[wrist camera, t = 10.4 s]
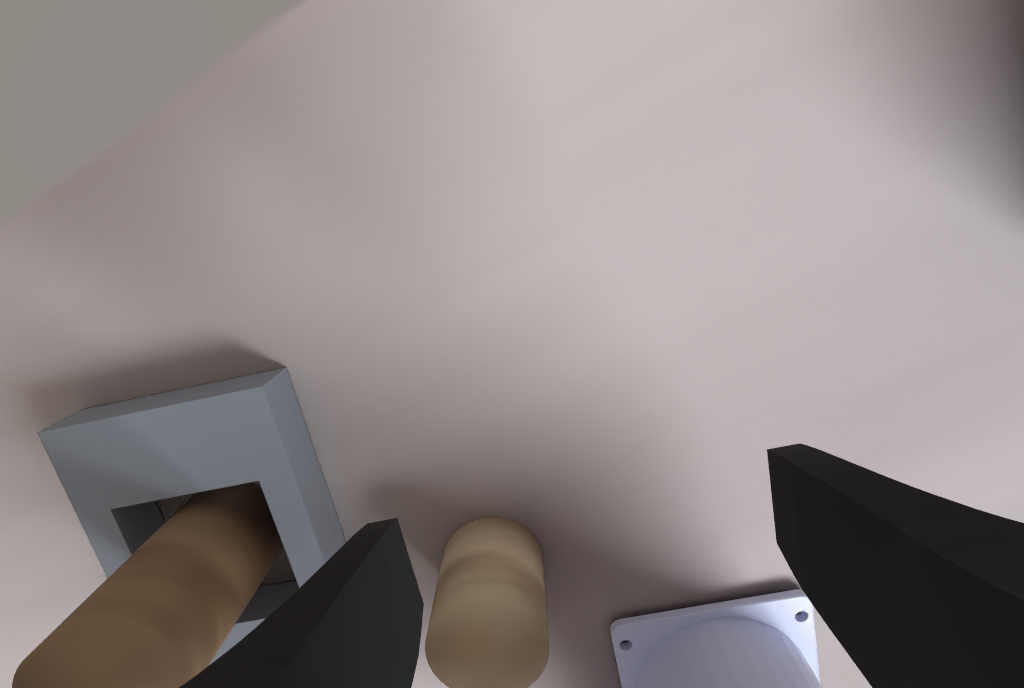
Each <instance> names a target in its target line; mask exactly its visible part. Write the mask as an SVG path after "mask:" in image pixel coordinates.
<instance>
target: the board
mask: <svg viewBox="0 0 1024 688" xmlns="http://www.w3.org/2000/svg"><path fill="white" fill-rule="evenodd" d="M38 435H39V437H40V439H41V441H42V443H43V445H44V448H45V450H46V452H47V454H48V456H49V458H50V460H51V462H52V464H53V466H54V468H55V470H56V472H57V474H58V477H59V479H60V481H61V483H62V485H63V487H64V489H65V491H66V493H67V495H68V497H69V499H70V501H71V503H72V505H73V508H74V510H75V512H76V514H77V516H78V518H79V520H80V522H81V524H82V526H83V528H84V530H85V532H86V534H87V537H88V539H89V541H90V543H91V545H92V547H93V549H94V551H95V553H96V555H97V557H98V559H99V561H100V563H101V566H102V568H103V570H104V572H105V574H106V576H107V578H109V577H110V576H111V575H112V574H113V573H114V572H115V571H116V570H117V569H118V568H119V567H120V566H121V565H122V564H123V563H124V562H125V561H126V560H127V559H128V558H129V557H130V556H131V555H132V554H133V553H135V552H136V551H137V550H138V549H139V548H140V547H141V546H142V545H143V544H144V543H145V542H146V541H147V540H148V539H149V538H150V537H151V536H152V535H153V534H154V533H155V532H156V531H157V530H158V529H159V528H160V527H161V526H162V525H163V524H164V523H165V522H164V520H163V518H162V515H161V513H160V511H159V508H158V506H157V504H156V502H155V501H156V500H161V499H167V498H172V497H177V496H182V495H187V494H192V493H198V492H203V491H208V490H213V489H218V488H223V487H229V486H234V485H239V484H244V483H249V482H254V481H259V482H260V485H261V488H262V490H263V493H264V495H265V498H266V501H267V503H268V506H269V509H270V511H271V514H272V517H273V519H274V522H275V525H276V527H277V530H278V533H279V535H280V538H281V541H282V543H283V546H284V549H285V551H286V554H287V556H288V559H289V562H290V564H291V567H292V570H293V572H294V575H295V578H296V581H290V582H284V583H279V584H273V585H268V586H262V587H258V589H257V591H256V592H255V594H254V595H253V597H252V598H251V600H250V601H249V603H248V605H247V606H246V608H245V609H244V611H243V612H242V614H241V616H240V617H239V619H238V620H237V622H236V623H235V625H234V626H233V628H232V630H231V631H230V633H229V634H228V636H227V637H226V639H225V641H224V642H223V644H222V645H221V647H220V648H219V650H218V652H217V653H216V655H215V656H214V658H213V659H212V661H211V662H210V664H211V663H213V662H214V661H215V660H217V659H218V658H219V657H221V656H222V655H223V654H224V653H226V652H227V651H228V650H229V649H231V648H232V647H233V646H234V645H236V644H237V643H238V642H239V641H241V640H242V639H243V638H244V637H245V636H246V635H248V634H249V633H250V632H251V631H252V630H254V629H255V628H256V627H257V626H258V625H259V624H260V623H261V622H262V621H264V620H265V619H266V618H267V617H268V616H269V615H270V614H271V613H272V612H274V611H275V610H276V609H277V608H278V607H279V606H280V605H281V604H282V603H284V602H285V601H286V600H287V599H288V598H289V597H290V596H291V595H292V594H294V593H295V592H296V591H297V590H298V589H299V588H300V587H301V586H302V585H303V584H304V583H305V582H306V581H307V580H308V579H309V578H310V577H311V576H312V575H313V574H314V573H315V572H316V571H317V570H319V569H320V568H321V567H322V566H323V565H324V564H325V563H326V562H327V561H328V560H329V559H330V558H331V557H332V556H333V555H334V554H335V553H336V552H337V551H338V550H339V549H340V548H341V547H342V546H343V545H344V544H345V543H346V541H345V538H344V535H343V532H342V529H341V526H340V523H339V520H338V517H337V514H336V511H335V508H334V505H333V502H332V500H331V497H330V494H329V491H328V488H327V485H326V482H325V479H324V476H323V473H322V470H321V467H320V464H319V462H318V459H317V456H316V453H315V450H314V447H313V444H312V441H311V438H310V435H309V432H308V429H307V426H306V423H305V421H304V418H303V415H302V412H301V409H300V406H299V403H298V400H297V397H296V394H295V391H294V388H293V385H292V382H291V380H290V377H289V374H288V371H287V368H286V367H285V368H280V369H275V370H270V371H266V372H261V373H256V374H251V375H246V376H241V377H237V378H232V379H227V380H222V381H217V382H213V383H208V384H203V385H198V386H193V387H188V388H184V389H179V390H174V391H169V392H164V393H160V394H155V395H150V396H145V397H140V398H135V399H131V400H126V401H121V402H116V403H111V404H107V405H102V406H97V407H92V408H87V409H82V410H80V411H78V412H76V413H74V414H72V415H70V416H68V417H66V418H65V419H63V420H61V421H59V422H57V423H55V424H53V425H51V426H49V427H47V428H46V429H44V430H42V431H40V432H38ZM210 664H209V665H210Z"/></svg>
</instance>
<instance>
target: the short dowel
mask: <svg viewBox="0 0 1024 688" xmlns="http://www.w3.org/2000/svg"><path fill="white" fill-rule="evenodd" d="M425 652H426V657H427V661H428V663H429V666H430V668H431V669H432V671H433V673H434V674H435V675H436V676H437V678H438V679H439V680H440V681H441V682H443V683H444V684H445V685H446V686H448V687H449V688H527V687H529V686H530V685H531V684H532V683H534V682H535V681H536V679H537V678H538V677H539V676H540V675H541V673H542V672H543V670H544V668H545V666H546V663H547V660H548V654H549V644H548V627H547V611H546V594H545V578H544V561H543V553H542V549H541V546H540V544H539V542H538V540H537V539H536V537H535V536H534V535H533V534H532V533H531V532H530V531H529V530H528V529H527V528H526V527H524V526H522V525H521V524H519V523H517V522H515V521H512V520H509V519H505V518H500V517H485V518H479V519H475V520H473V521H470V522H468V523H466V524H464V525H463V526H461V527H460V528H458V529H457V530H456V531H455V532H454V533H453V534H452V536H451V537H450V538H449V540H448V542H447V544H446V546H445V550H444V554H443V559H442V564H441V568H440V573H439V578H438V583H437V588H436V593H435V598H434V602H433V607H432V612H431V617H430V622H429V627H428V632H427V636H426V643H425Z"/></svg>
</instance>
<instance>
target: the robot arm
mask: <svg viewBox="0 0 1024 688" xmlns="http://www.w3.org/2000/svg"><path fill="white" fill-rule="evenodd" d="M767 453H768V463H769V473H770V482H771V492H772V502H773V511H774V521H775V531H776V540H777V544H778V546H779V548H780V550H781V552H782V554H783V555H784V557H785V559H786V561H787V563H788V565H789V567H790V569H791V570H792V572H793V574H794V576H795V578H796V579H797V581H798V583H799V585H800V587H801V588H802V590H790V591H784V592H778V593H772V594H766V595H760V596H754V597H748V598H742V599H736V600H730V601H724V602H718V603H712V604H706V605H700V606H694V607H688V608H683V609H677V610H671V611H665V612H659V613H653V614H647V615H641V616H635V617H629V618H623V619H619V620H616V621H615V622H613V623H612V625H611V627H610V632H611V637H612V642H613V647H614V652H615V657H616V662H617V666H618V671H619V676H620V681H621V686H622V688H823V687H822V686H821V684H820V679H819V668H818V656H817V644H816V633H815V621H814V610H813V606H814V607H815V609H816V610H817V611H818V613H819V614H820V616H821V617H822V618H823V620H824V621H825V623H826V624H827V625H828V627H829V628H830V630H831V631H832V632H833V634H834V635H835V637H836V638H837V639H838V641H839V642H840V643H841V645H842V646H843V648H844V649H845V650H846V652H847V653H848V654H849V656H850V657H851V659H852V660H853V661H854V663H855V664H856V666H857V667H858V668H859V670H860V671H861V672H862V674H863V675H864V677H865V678H866V679H867V681H868V682H869V683H870V685H871V686H872V688H1024V523H1021V522H1018V521H1014V520H1010V519H1007V518H1003V517H1000V516H997V515H993V514H990V513H987V512H984V511H980V510H977V509H974V508H971V507H968V506H965V505H962V504H960V503H957V502H954V501H951V500H948V499H945V498H942V497H939V496H936V495H933V494H931V493H928V492H925V491H922V490H920V489H917V488H914V487H912V486H909V485H906V484H904V483H901V482H898V481H896V480H893V479H891V478H888V477H886V476H883V475H881V474H878V473H876V472H873V471H871V470H868V469H866V468H863V467H861V466H858V465H856V464H853V463H851V462H848V461H846V460H844V459H841V458H839V457H836V456H834V455H831V454H829V453H826V452H823V451H821V450H818V449H816V448H813V447H810V446H807V445H803V444H795V445H790V446H784V447H779V448H773V449H768V450H767ZM423 605H424V604H423V600H422V597H421V594H420V591H419V587H418V584H417V581H416V578H415V575H414V571H413V568H412V565H411V562H410V558H409V555H408V552H407V549H406V545H405V542H404V539H403V536H402V533H401V529H400V526H399V523H398V520H397V518H395V519H390V520H384V521H379V522H374V523H368V524H366V525H365V526H364V527H363V528H361V529H360V530H359V531H358V532H357V533H356V534H355V535H354V536H353V537H351V538H350V539H349V540H348V541H347V542H346V543H345V544H344V545H343V546H342V547H341V548H340V549H339V550H338V551H337V552H336V553H335V554H334V555H333V556H332V557H331V558H330V559H329V560H328V561H327V562H326V563H325V564H324V565H323V566H322V567H321V568H320V569H319V570H317V571H316V572H315V573H314V574H313V575H312V576H311V577H310V578H309V579H308V580H307V581H306V582H305V583H304V584H303V585H302V586H301V587H300V588H299V589H298V590H297V591H296V592H295V593H294V594H292V595H291V596H290V597H289V598H288V599H287V600H286V601H285V602H284V603H282V604H281V605H280V606H279V607H278V608H277V609H276V610H275V611H274V612H272V613H271V614H270V615H269V616H268V617H267V618H266V619H265V620H264V621H262V622H261V623H260V624H259V625H258V626H257V627H256V628H255V629H254V630H252V631H251V632H250V633H249V634H248V635H246V636H245V637H244V638H243V639H242V640H241V641H239V642H238V643H237V644H236V645H234V646H233V647H232V648H231V649H229V650H228V651H227V652H226V653H224V654H223V655H222V656H221V657H219V658H218V659H217V660H215V661H214V662H213V663H211V664H210V665H209V666H208V667H206V668H205V669H204V670H202V671H201V672H200V673H198V674H197V675H196V676H194V677H193V678H192V679H190V680H189V681H188V682H186V683H185V684H183V685H182V686H180V687H179V688H411V686H412V682H413V678H414V673H415V669H416V664H417V659H418V655H419V646H420V638H421V628H422V616H423ZM800 611H803V612H802V613H801V614H798V615H796V614H797V613H798V612H800ZM624 640H629V642H627V643H621V641H624Z"/></svg>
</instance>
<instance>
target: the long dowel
mask: <svg viewBox="0 0 1024 688" xmlns="http://www.w3.org/2000/svg"><path fill="white" fill-rule="evenodd" d="M283 548H284V546H283V543H282V541H281V538H280V535H279V533H278V530H277V527H276V525H275V522H274V519H273V517H272V514H271V511H270V509H269V506H268V503H267V501H266V498H265V495H264V493H263V490H262V488H261V487H259V486H257V485H255V484H252V483H244V484H239V485H234V486H229V487H223V488H218V489H213V490H208V491H203V492H198V493H195V494H194V495H193V496H192V497H191V498H190V499H189V500H188V501H187V502H186V503H185V504H184V505H183V506H182V507H181V508H180V509H179V510H178V511H177V512H176V513H175V514H174V515H173V516H172V517H171V518H170V519H169V520H168V521H167V522H165V523H164V524H163V525H162V526H161V527H160V528H159V529H158V530H157V531H156V532H155V533H154V534H153V535H152V536H151V537H150V538H149V539H148V540H147V541H146V542H145V543H144V544H143V545H142V546H141V547H140V548H139V549H138V550H137V551H136V552H135V553H133V554H132V555H131V556H130V557H129V558H128V559H127V560H126V561H125V562H124V563H123V564H122V565H121V566H120V567H119V568H118V569H117V570H116V571H115V572H114V573H113V574H112V575H111V576H110V577H109V578H108V579H107V580H106V581H105V582H104V583H103V584H102V585H100V586H99V587H98V588H97V589H96V590H95V591H94V592H93V593H92V594H91V595H90V596H89V597H88V598H87V599H86V600H85V601H84V602H83V603H82V604H81V605H80V606H79V607H78V608H77V609H76V610H75V611H74V612H73V613H72V614H71V615H70V616H69V617H67V618H66V619H65V620H64V621H63V622H62V623H61V624H60V625H59V626H58V627H57V628H56V629H55V630H54V631H53V632H52V633H51V634H50V635H49V636H48V637H47V638H46V639H45V640H44V641H43V642H42V643H41V644H40V645H39V646H38V647H37V648H36V649H34V650H33V651H32V652H31V653H30V654H29V655H28V656H27V657H26V658H25V659H24V660H23V661H22V662H21V664H20V665H19V667H18V668H17V670H16V673H15V675H14V679H13V683H12V688H179V687H180V686H182V685H183V684H185V683H186V682H188V681H189V680H190V679H192V678H193V677H194V676H196V675H197V674H198V673H200V672H201V671H202V670H204V669H205V668H206V667H208V666H209V664H210V662H211V661H212V659H213V658H214V656H215V655H216V653H217V652H218V650H219V648H220V647H221V645H222V644H223V642H224V641H225V639H226V637H227V636H228V634H229V633H230V631H231V630H232V628H233V626H234V625H235V623H236V622H237V620H238V619H239V617H240V616H241V614H242V612H243V611H244V609H245V608H246V606H247V605H248V603H249V601H250V600H251V598H252V597H253V595H254V594H255V592H256V591H257V589H258V587H259V586H260V584H261V583H262V581H263V580H264V578H265V576H266V575H267V573H268V572H269V570H270V569H271V567H272V566H273V564H274V562H275V561H276V559H277V558H278V556H279V555H280V553H281V551H282V550H283Z"/></svg>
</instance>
